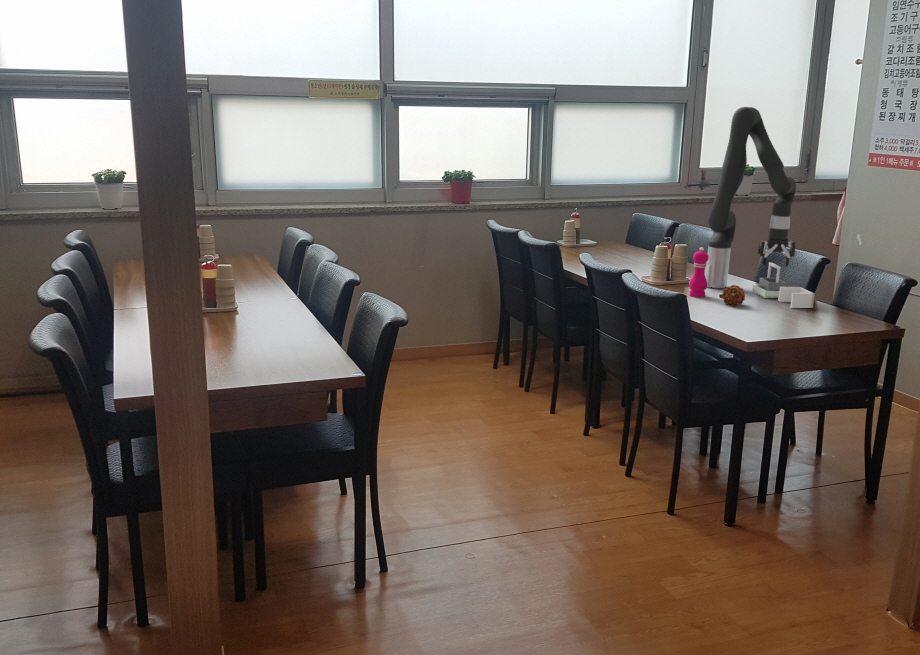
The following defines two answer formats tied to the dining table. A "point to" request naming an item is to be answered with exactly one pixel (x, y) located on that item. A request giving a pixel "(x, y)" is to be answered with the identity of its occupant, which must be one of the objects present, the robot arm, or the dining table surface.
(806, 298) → the bay
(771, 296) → the tray
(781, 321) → the dining table surface
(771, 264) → the caddy
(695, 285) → the pepper mill
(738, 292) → the brown scaly oval lump
